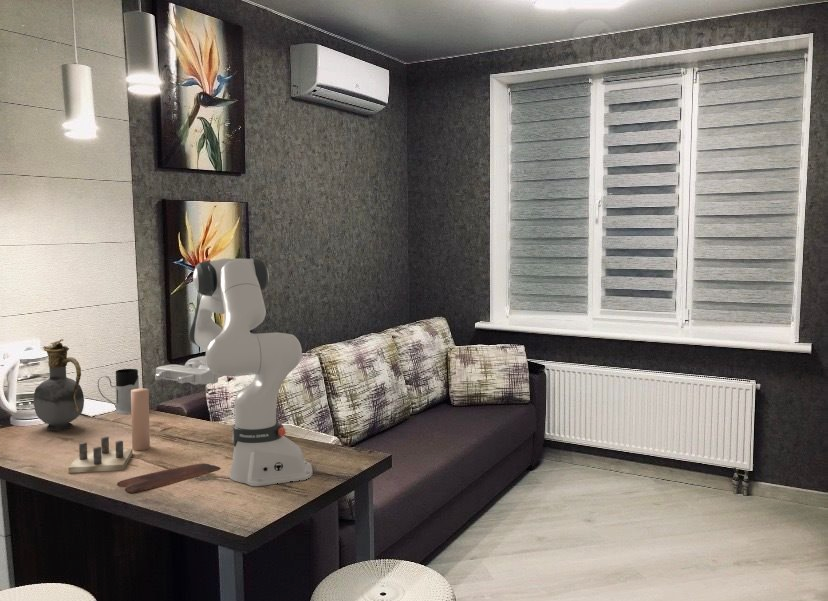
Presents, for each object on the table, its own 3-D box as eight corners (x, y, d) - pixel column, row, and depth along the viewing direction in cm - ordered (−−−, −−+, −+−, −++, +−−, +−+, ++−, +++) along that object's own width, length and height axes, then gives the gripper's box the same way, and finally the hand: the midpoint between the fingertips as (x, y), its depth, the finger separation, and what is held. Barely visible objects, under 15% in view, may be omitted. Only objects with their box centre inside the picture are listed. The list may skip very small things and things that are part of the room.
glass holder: (142, 412, 251) (141, 371, 249) (99, 417, 244) (98, 375, 242) (138, 407, 258) (138, 367, 257) (97, 411, 252) (96, 370, 250)
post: (151, 445, 213) (149, 388, 212) (148, 450, 209) (147, 391, 207) (133, 446, 212) (132, 388, 211) (130, 451, 207) (129, 392, 206)
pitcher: (60, 420, 239) (57, 334, 236) (96, 429, 229) (93, 339, 226) (29, 428, 229) (26, 339, 226) (66, 437, 220) (62, 344, 217)
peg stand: (132, 453, 205) (131, 434, 204) (123, 469, 191) (122, 448, 191) (81, 456, 202) (80, 436, 201) (68, 472, 188) (67, 451, 188)
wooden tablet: (206, 458, 200) (224, 462, 193) (206, 465, 200) (224, 470, 193) (114, 481, 181) (130, 487, 174) (114, 489, 181) (130, 495, 174)
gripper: (173, 358, 236) (142, 365, 224) (221, 364, 228) (193, 372, 216) (173, 376, 237) (143, 384, 224) (221, 383, 229) (193, 392, 216)
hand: (168, 379), depth 220 cm, fingers open, 8 cm apart
